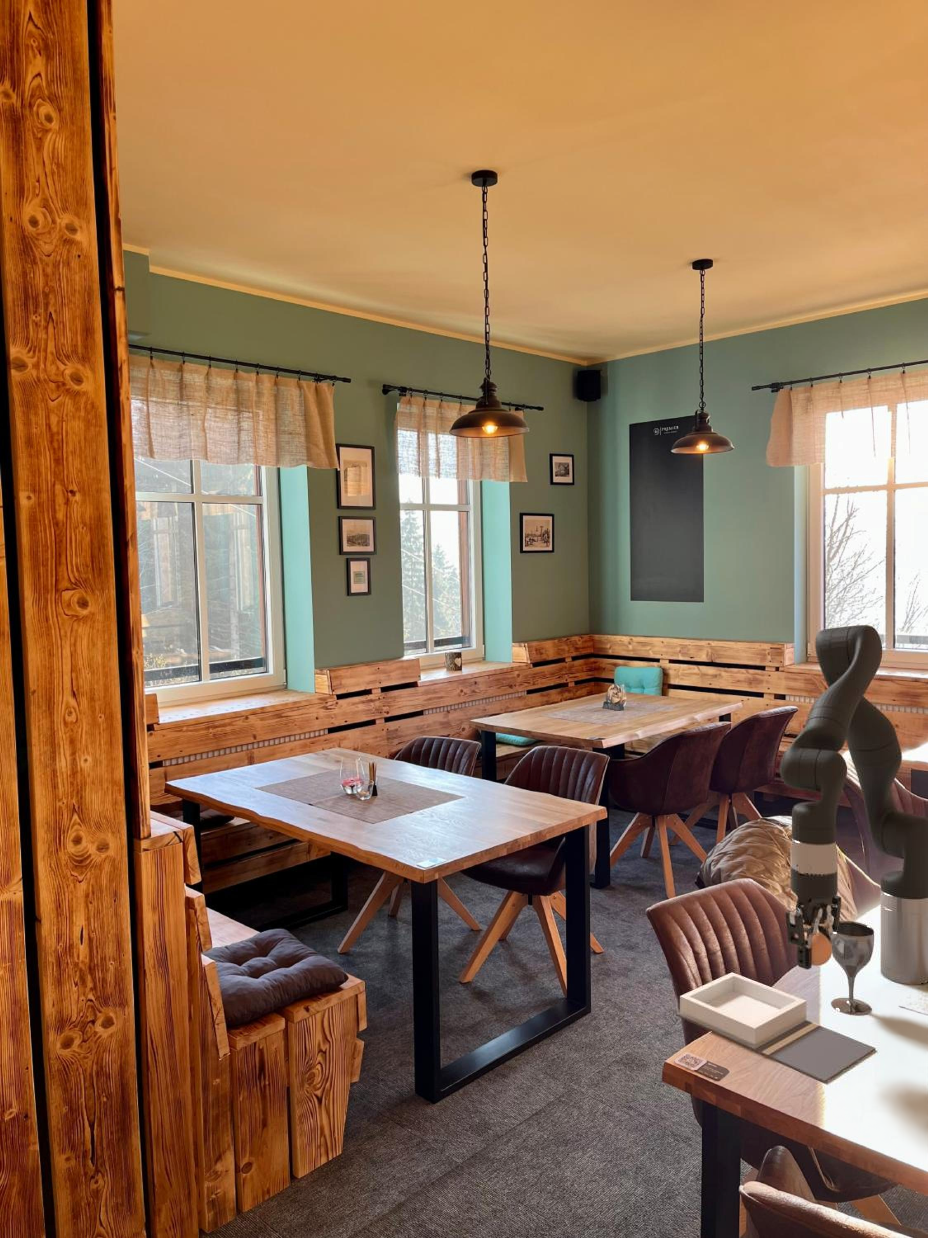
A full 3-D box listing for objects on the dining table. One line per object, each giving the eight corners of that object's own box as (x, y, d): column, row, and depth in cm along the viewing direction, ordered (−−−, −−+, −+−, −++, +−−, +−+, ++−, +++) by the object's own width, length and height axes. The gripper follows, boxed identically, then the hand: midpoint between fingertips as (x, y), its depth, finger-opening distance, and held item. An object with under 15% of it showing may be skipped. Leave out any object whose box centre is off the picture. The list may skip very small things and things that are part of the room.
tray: (732, 990, 179) (732, 972, 179) (806, 1020, 166) (806, 1001, 166) (680, 1015, 169) (679, 996, 169) (754, 1049, 156) (754, 1028, 156)
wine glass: (819, 1001, 174) (819, 924, 174) (851, 994, 177) (851, 918, 177) (850, 1020, 167) (850, 939, 166) (883, 1012, 170) (883, 932, 169)
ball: (808, 955, 160) (808, 923, 159) (838, 965, 155) (838, 932, 155) (790, 963, 156) (790, 931, 156) (820, 974, 152) (820, 941, 152)
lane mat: (727, 990, 180) (727, 988, 180) (875, 1050, 156) (875, 1047, 156) (675, 1015, 170) (675, 1013, 170) (824, 1083, 146) (824, 1080, 146)
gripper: (816, 852, 162) (816, 945, 163) (770, 869, 154) (770, 967, 154) (856, 861, 157) (856, 958, 157) (811, 880, 148) (811, 982, 148)
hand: (814, 962), depth 156 cm, fingers closed on ball, 5 cm apart
